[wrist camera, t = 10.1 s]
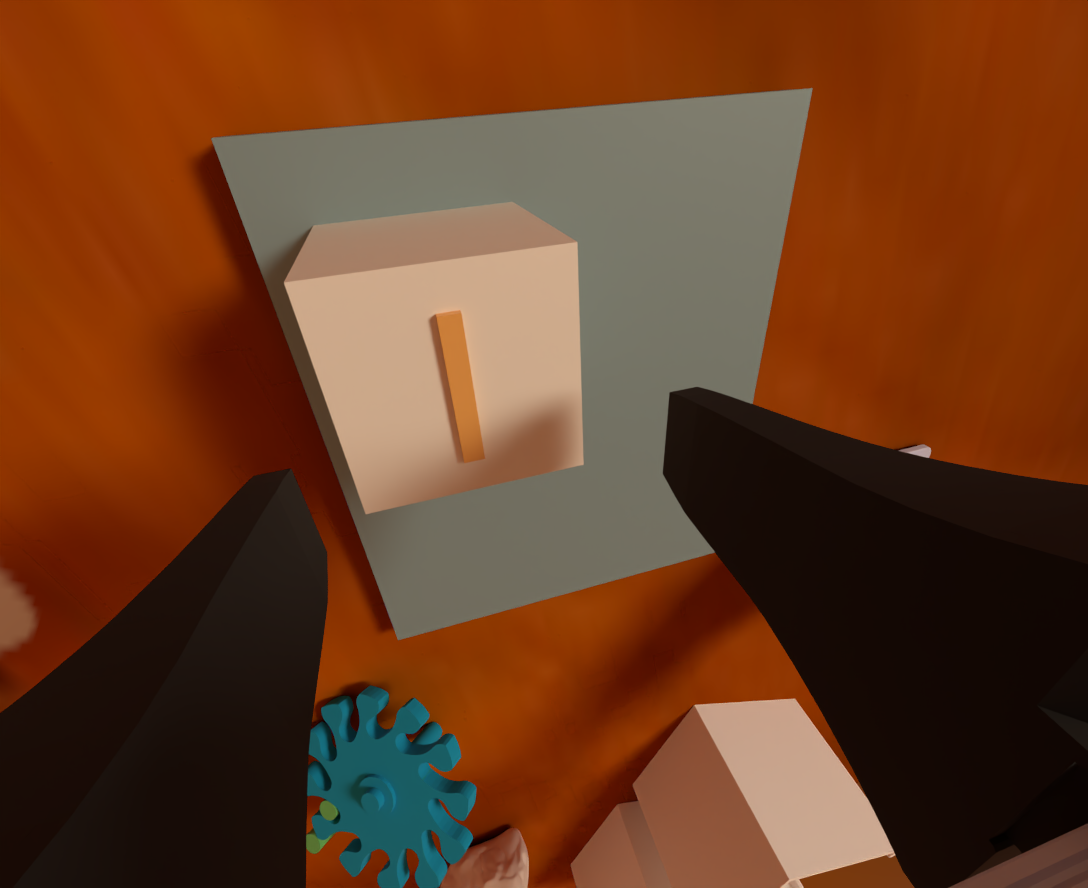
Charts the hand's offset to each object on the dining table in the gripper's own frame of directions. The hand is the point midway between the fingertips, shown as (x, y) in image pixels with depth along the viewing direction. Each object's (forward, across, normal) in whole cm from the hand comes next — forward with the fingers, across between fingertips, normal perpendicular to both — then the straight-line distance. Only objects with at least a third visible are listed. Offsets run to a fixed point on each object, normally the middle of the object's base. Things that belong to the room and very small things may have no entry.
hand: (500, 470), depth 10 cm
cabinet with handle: (+8, 0, -1) cm, 8 cm away
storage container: (+10, -13, +46) cm, 49 cm away
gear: (+10, +8, +22) cm, 26 cm away
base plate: (+9, -4, +4) cm, 11 cm away
